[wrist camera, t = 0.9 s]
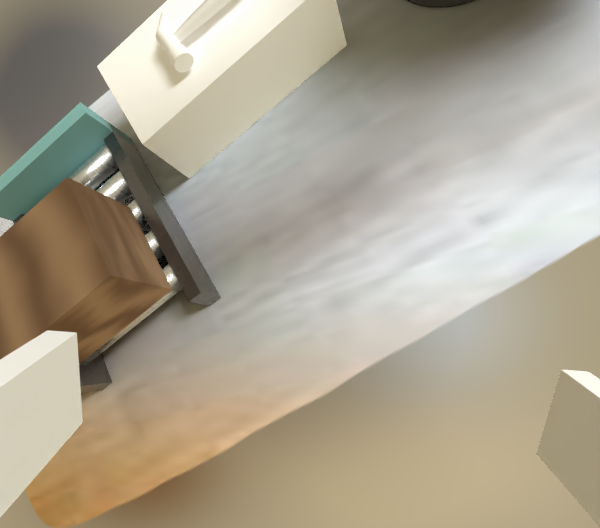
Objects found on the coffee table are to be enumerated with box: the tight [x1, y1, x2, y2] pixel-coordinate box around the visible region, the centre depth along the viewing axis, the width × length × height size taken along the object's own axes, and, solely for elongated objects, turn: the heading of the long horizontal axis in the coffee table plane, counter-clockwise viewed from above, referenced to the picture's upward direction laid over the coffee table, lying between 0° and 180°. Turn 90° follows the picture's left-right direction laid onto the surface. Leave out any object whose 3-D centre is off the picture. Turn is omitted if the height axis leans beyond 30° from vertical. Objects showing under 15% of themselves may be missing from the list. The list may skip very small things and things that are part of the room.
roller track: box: [13, 122, 221, 393], centre depth 44 cm, size 19×28×4 cm, turn 34°
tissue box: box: [97, 0, 347, 178], centre depth 42 cm, size 14×25×11 cm, turn 124°
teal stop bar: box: [0, 102, 135, 221], centre depth 47 cm, size 19×2×8 cm, turn 124°
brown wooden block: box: [0, 177, 172, 364], centre depth 36 cm, size 14×12×8 cm
